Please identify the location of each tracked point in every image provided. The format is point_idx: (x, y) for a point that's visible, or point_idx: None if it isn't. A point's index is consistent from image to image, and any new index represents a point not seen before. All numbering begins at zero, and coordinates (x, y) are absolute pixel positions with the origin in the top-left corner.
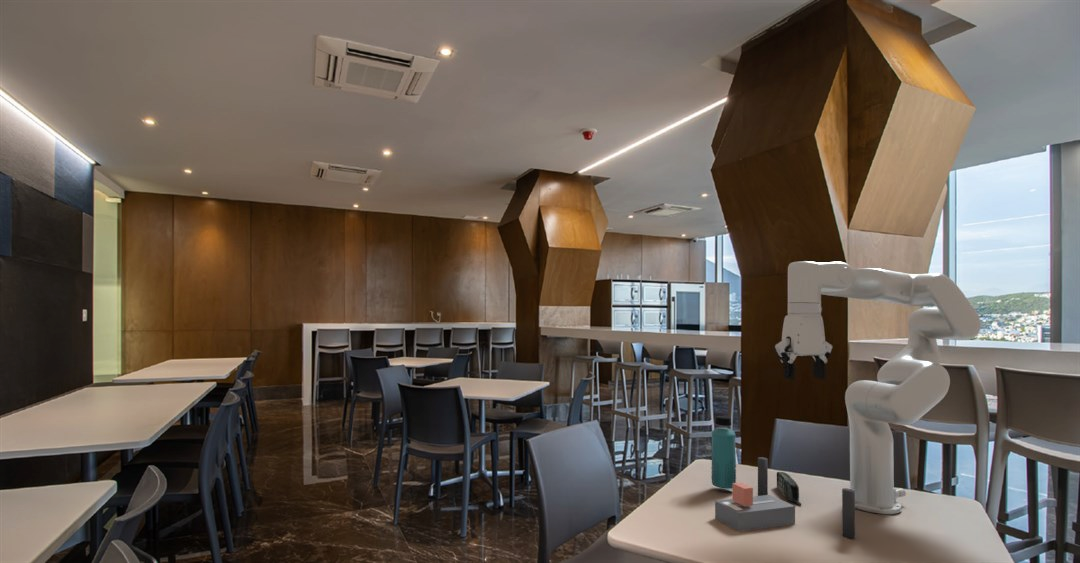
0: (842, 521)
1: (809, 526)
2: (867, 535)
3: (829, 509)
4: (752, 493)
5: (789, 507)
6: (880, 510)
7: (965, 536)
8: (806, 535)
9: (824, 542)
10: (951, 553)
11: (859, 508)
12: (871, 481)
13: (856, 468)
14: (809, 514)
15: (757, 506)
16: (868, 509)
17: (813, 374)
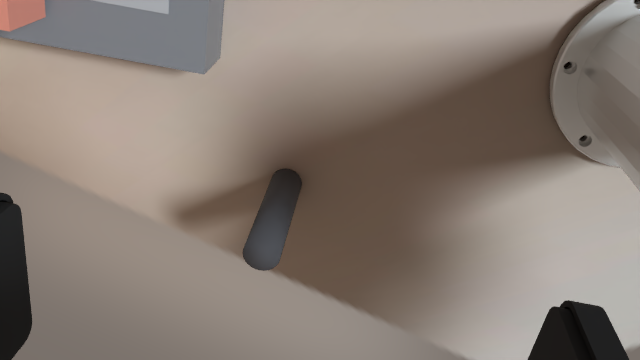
0: (268, 190)
1: (246, 90)
2: (344, 200)
3: (458, 27)
4: (19, 26)
5: (180, 68)
6: (571, 142)
7: None
8: (181, 125)
9: (189, 172)
10: (421, 333)
11: (550, 85)
12: (611, 150)
13: (630, 109)
14: (341, 25)
15: (71, 16)
16: (554, 113)
17: (565, 333)
